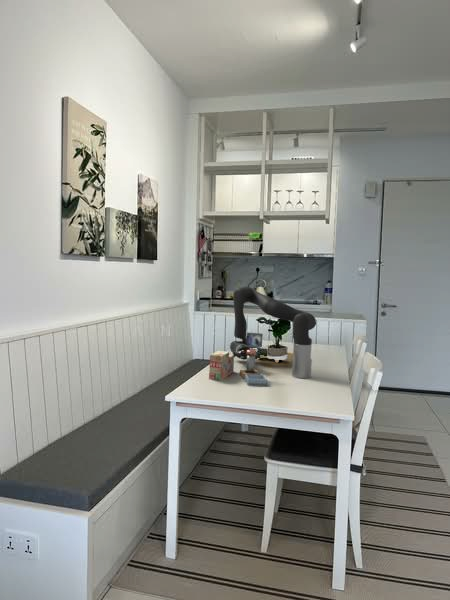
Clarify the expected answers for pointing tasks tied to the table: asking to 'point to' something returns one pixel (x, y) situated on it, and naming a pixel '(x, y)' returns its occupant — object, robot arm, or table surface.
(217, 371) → the stack of blocks
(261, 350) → the miniature car
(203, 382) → the table surface
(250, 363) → the pin
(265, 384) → the tray
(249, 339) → the small box
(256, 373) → the socket block
